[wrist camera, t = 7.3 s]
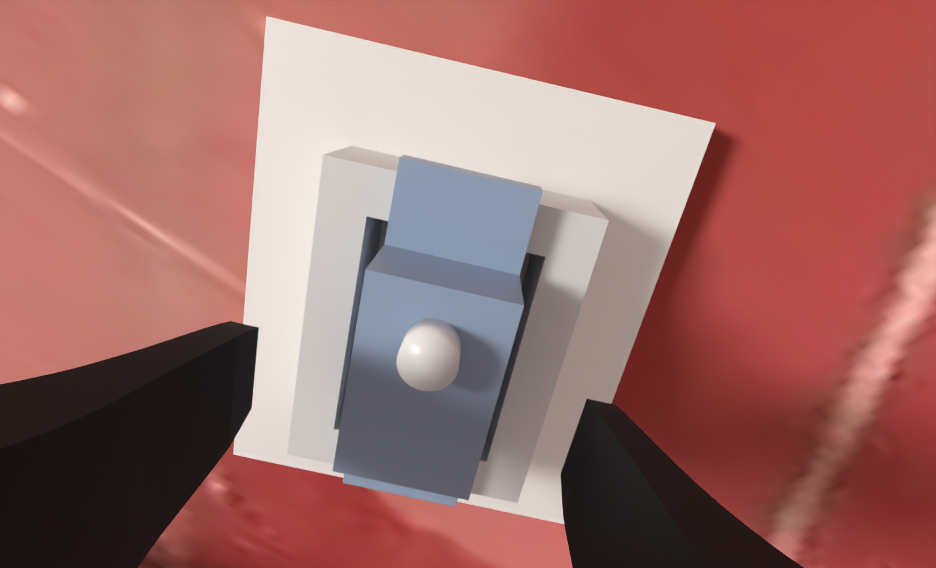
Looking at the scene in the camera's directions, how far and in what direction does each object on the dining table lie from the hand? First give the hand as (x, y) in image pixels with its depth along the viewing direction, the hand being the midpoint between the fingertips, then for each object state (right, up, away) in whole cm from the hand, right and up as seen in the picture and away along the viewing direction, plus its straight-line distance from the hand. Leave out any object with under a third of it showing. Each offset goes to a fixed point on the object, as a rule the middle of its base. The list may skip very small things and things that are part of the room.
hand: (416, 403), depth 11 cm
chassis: (0, +2, +6) cm, 6 cm away
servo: (0, +2, +5) cm, 5 cm away
